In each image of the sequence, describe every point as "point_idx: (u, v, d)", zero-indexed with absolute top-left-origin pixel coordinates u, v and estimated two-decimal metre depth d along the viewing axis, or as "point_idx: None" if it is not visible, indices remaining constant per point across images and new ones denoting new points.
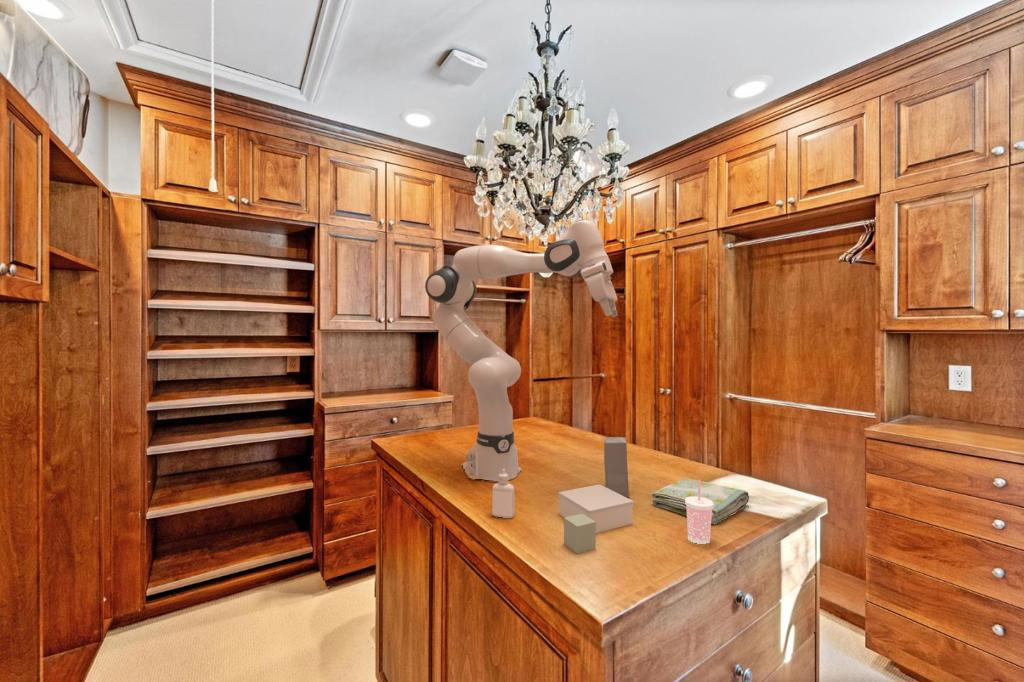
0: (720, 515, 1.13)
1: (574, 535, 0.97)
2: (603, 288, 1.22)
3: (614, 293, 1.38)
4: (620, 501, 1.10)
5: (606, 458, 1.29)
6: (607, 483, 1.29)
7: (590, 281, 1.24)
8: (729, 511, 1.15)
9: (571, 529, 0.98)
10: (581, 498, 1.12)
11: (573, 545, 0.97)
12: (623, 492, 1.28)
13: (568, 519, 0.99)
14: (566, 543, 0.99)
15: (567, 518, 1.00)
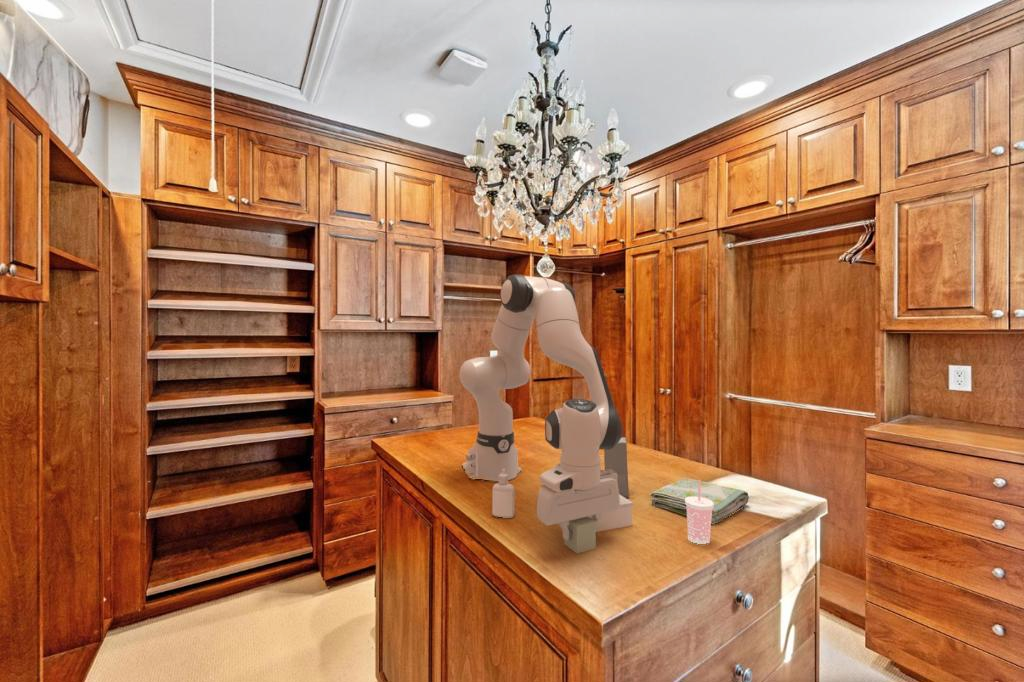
0: (719, 515, 1.13)
1: (574, 535, 0.97)
2: (545, 515, 0.93)
3: (609, 502, 1.01)
4: None
5: (606, 458, 1.29)
6: None
7: (540, 494, 0.96)
8: (728, 511, 1.15)
9: (571, 528, 0.98)
10: None
11: (573, 544, 0.97)
12: (623, 492, 1.28)
13: None
14: (566, 543, 0.99)
15: None
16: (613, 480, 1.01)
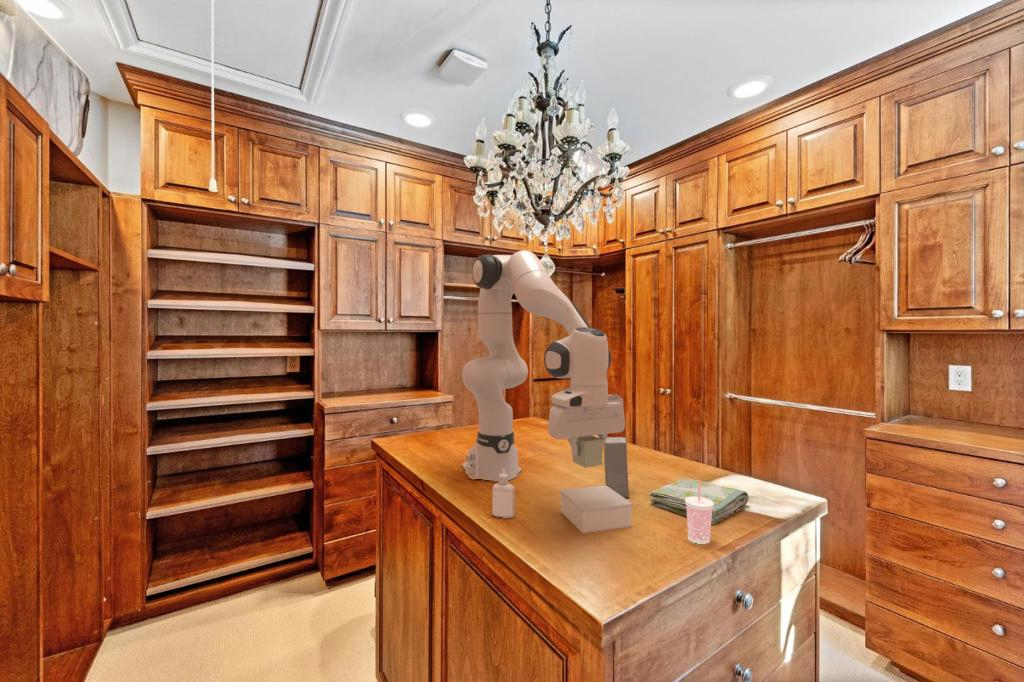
0: (718, 515, 1.13)
1: (582, 451, 1.04)
2: (556, 429, 1.01)
3: (615, 424, 1.08)
4: (618, 503, 1.09)
5: (606, 458, 1.29)
6: (607, 483, 1.29)
7: (551, 412, 1.03)
8: (727, 511, 1.15)
9: (579, 446, 1.05)
10: (580, 497, 1.13)
11: (581, 460, 1.05)
12: (623, 492, 1.28)
13: None
14: (575, 460, 1.07)
15: None
16: (619, 404, 1.09)
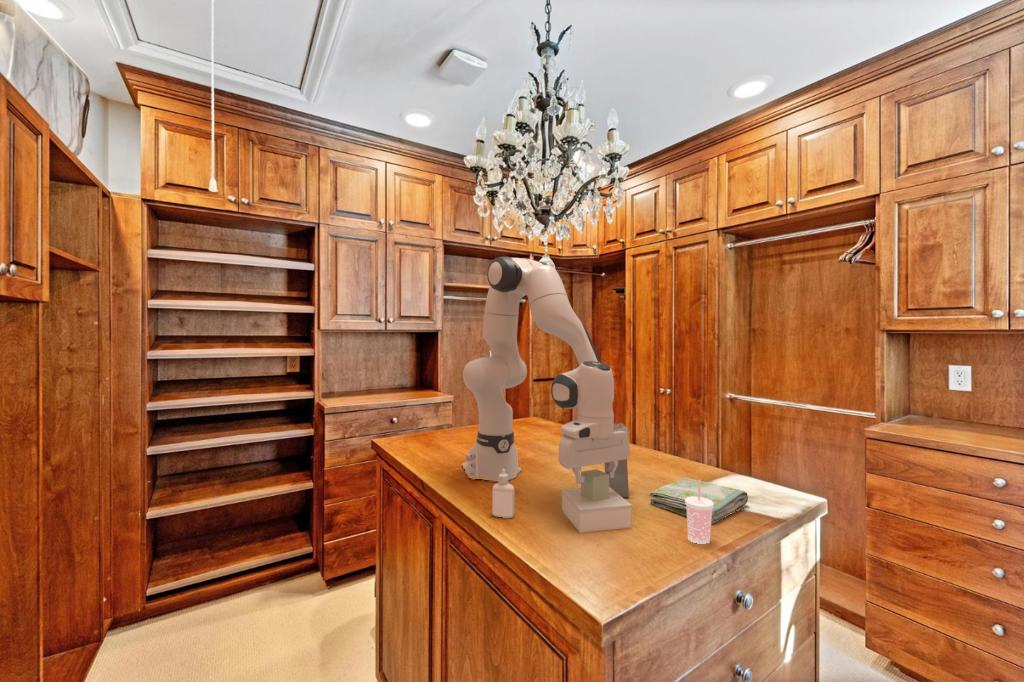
0: (717, 515, 1.13)
1: (590, 486, 1.11)
2: (566, 459, 1.07)
3: (621, 451, 1.15)
4: (617, 504, 1.09)
5: None
6: None
7: (561, 443, 1.10)
8: (726, 511, 1.15)
9: (587, 480, 1.12)
10: (580, 497, 1.13)
11: (589, 494, 1.12)
12: (623, 492, 1.28)
13: (585, 473, 1.14)
14: (583, 494, 1.14)
15: (584, 472, 1.14)
16: (624, 432, 1.15)
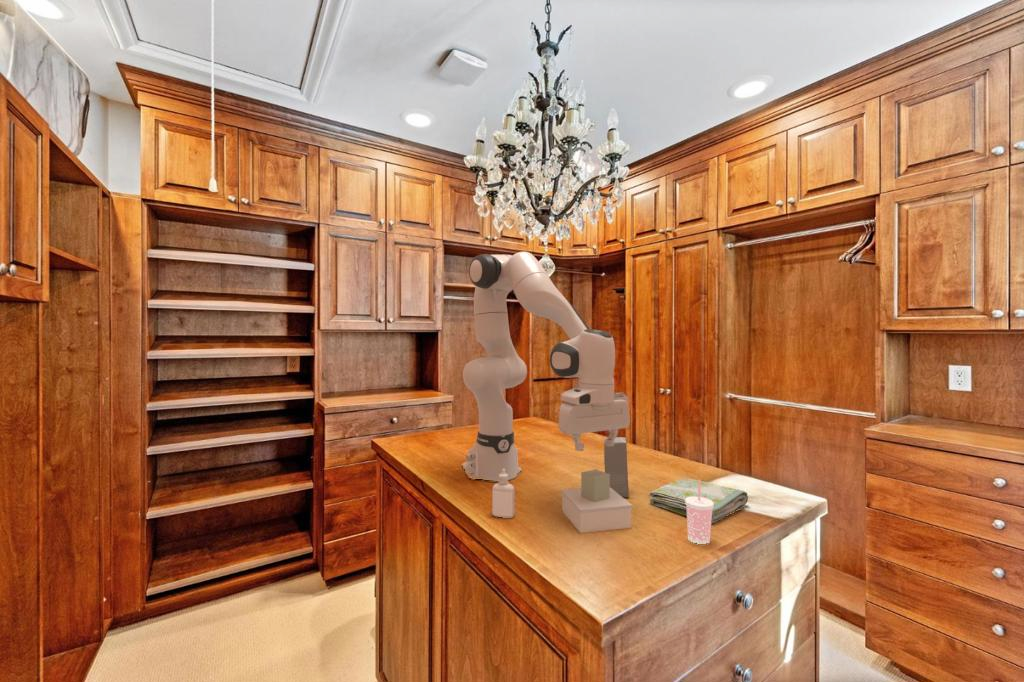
0: (716, 515, 1.13)
1: (591, 486, 1.11)
2: (566, 425, 1.07)
3: (621, 420, 1.15)
4: (618, 504, 1.09)
5: (606, 458, 1.29)
6: None
7: (561, 409, 1.10)
8: (726, 511, 1.15)
9: (588, 481, 1.12)
10: (580, 497, 1.13)
11: (590, 495, 1.11)
12: (623, 492, 1.28)
13: (585, 473, 1.13)
14: (584, 494, 1.13)
15: (584, 472, 1.14)
16: (624, 401, 1.15)
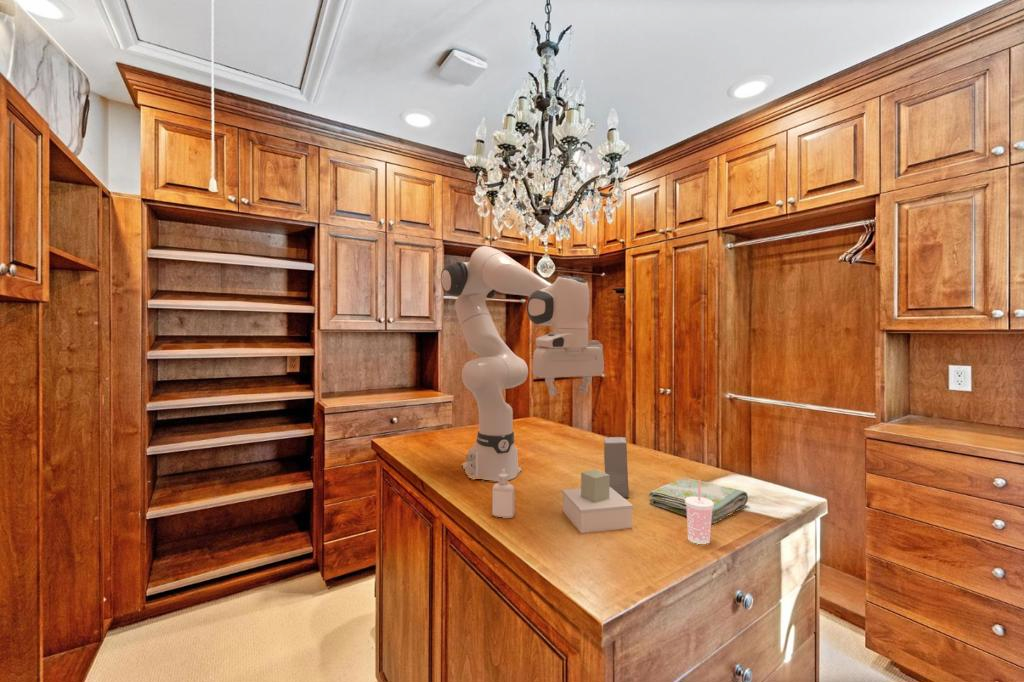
0: (716, 515, 1.13)
1: (591, 486, 1.11)
2: (539, 368, 1.08)
3: (595, 367, 1.16)
4: (619, 504, 1.09)
5: (606, 458, 1.29)
6: None
7: (535, 353, 1.11)
8: (726, 511, 1.15)
9: (588, 481, 1.11)
10: (581, 497, 1.13)
11: (590, 495, 1.11)
12: (623, 492, 1.28)
13: (585, 473, 1.13)
14: (583, 495, 1.13)
15: (584, 473, 1.13)
16: (599, 348, 1.16)
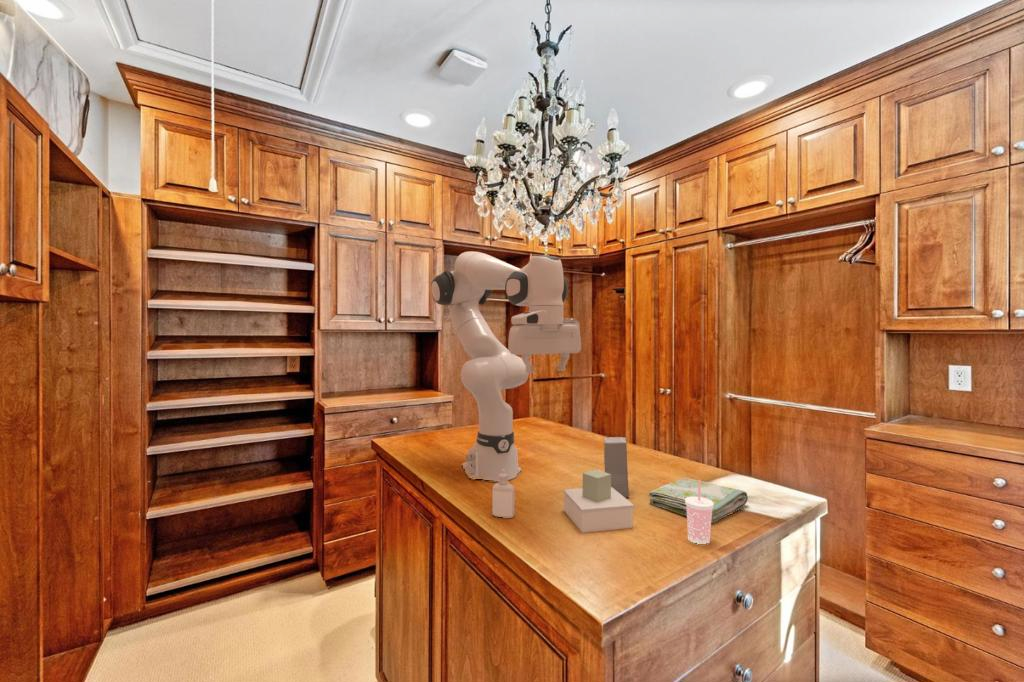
0: (716, 515, 1.13)
1: (594, 486, 1.11)
2: (515, 344, 1.09)
3: (572, 344, 1.17)
4: (620, 504, 1.09)
5: (606, 458, 1.29)
6: None
7: (511, 331, 1.12)
8: (726, 511, 1.15)
9: (591, 481, 1.12)
10: (582, 497, 1.13)
11: (593, 495, 1.11)
12: (623, 492, 1.28)
13: (587, 474, 1.13)
14: (585, 495, 1.13)
15: (586, 473, 1.13)
16: (575, 326, 1.17)
